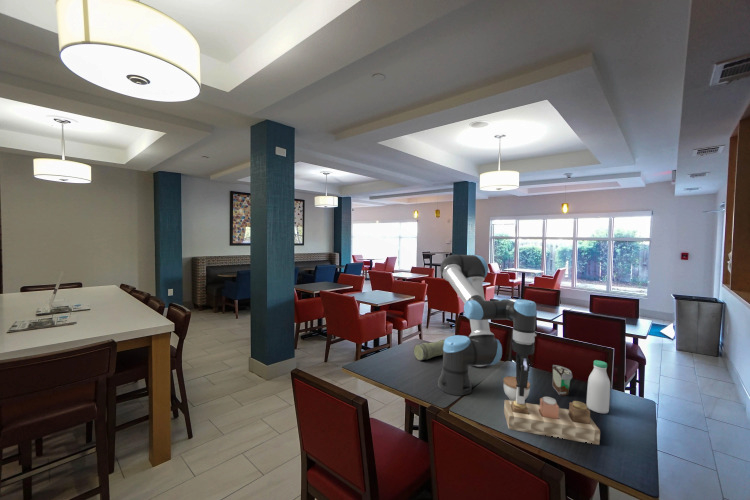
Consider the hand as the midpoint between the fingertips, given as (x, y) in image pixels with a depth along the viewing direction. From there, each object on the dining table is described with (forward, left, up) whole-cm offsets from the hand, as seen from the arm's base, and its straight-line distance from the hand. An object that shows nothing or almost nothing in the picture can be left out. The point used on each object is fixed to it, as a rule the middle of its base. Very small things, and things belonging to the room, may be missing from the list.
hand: (520, 402), depth 120 cm
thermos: (-44, +48, -3) cm, 65 cm away
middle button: (+10, 0, -3) cm, 10 cm away
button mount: (+10, 0, -8) cm, 12 cm away
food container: (+25, +34, -8) cm, 43 cm away
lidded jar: (+2, +19, -8) cm, 21 cm away
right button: (+20, 0, -3) cm, 20 cm away
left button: (0, 0, -6) cm, 6 cm away
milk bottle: (+34, +21, -8) cm, 41 cm away
